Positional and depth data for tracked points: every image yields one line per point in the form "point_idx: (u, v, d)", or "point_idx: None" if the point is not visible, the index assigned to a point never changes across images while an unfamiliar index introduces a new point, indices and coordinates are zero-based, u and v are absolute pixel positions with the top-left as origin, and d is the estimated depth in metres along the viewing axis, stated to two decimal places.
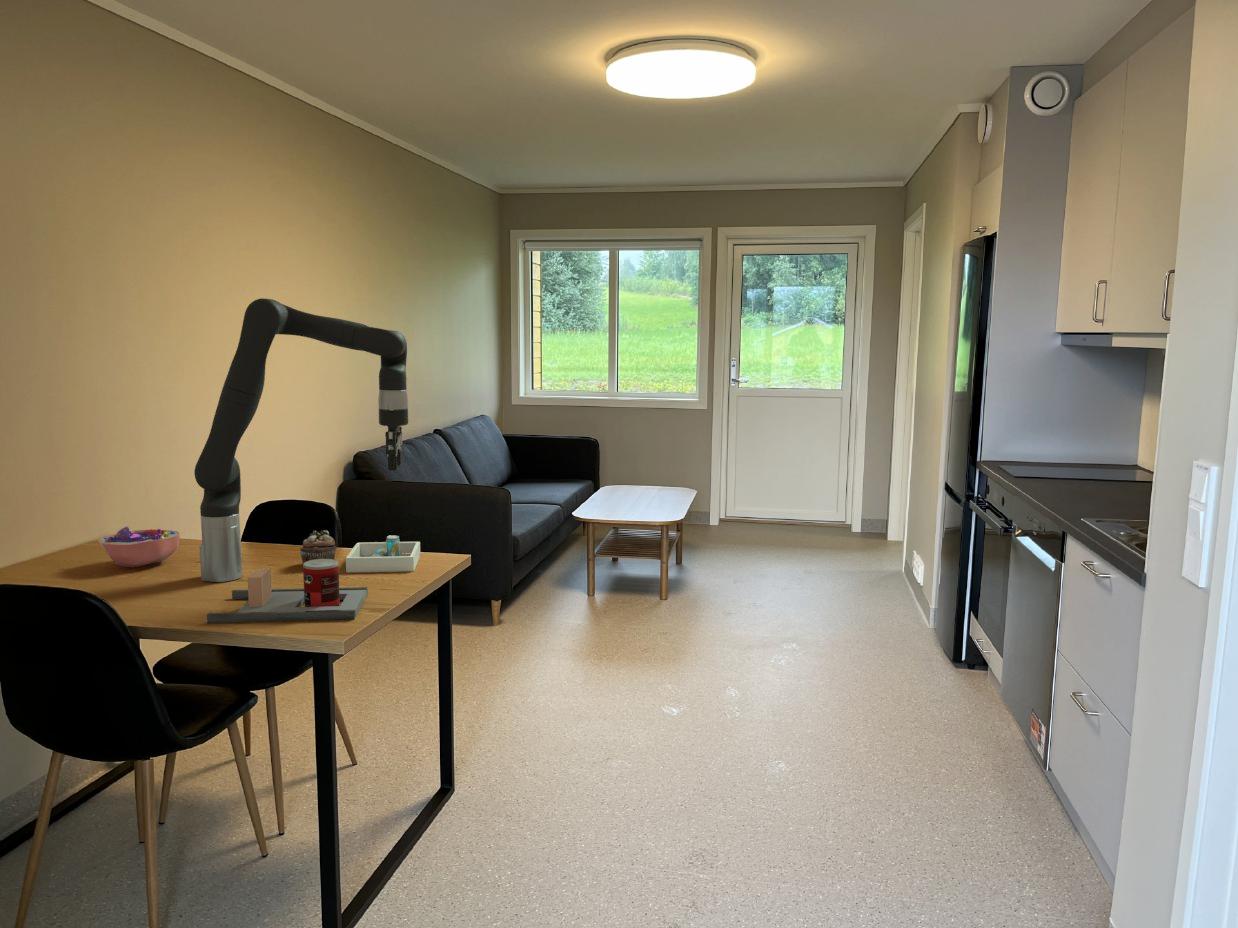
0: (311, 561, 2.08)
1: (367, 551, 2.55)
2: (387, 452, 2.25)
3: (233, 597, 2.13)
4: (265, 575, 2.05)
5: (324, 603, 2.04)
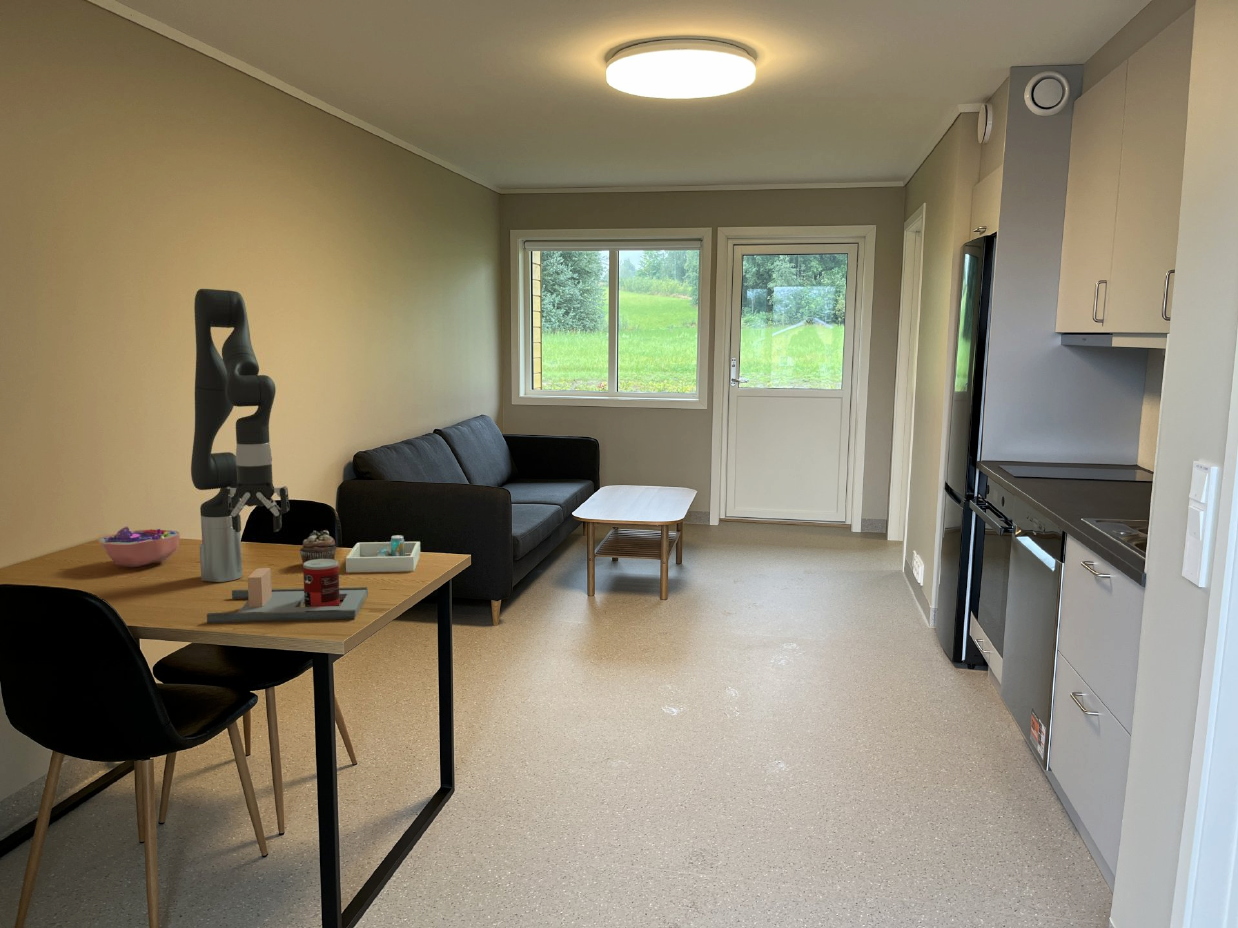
0: (311, 561, 2.08)
1: (367, 551, 2.55)
2: (287, 510, 2.03)
3: (233, 597, 2.13)
4: (265, 575, 2.05)
5: (324, 603, 2.04)
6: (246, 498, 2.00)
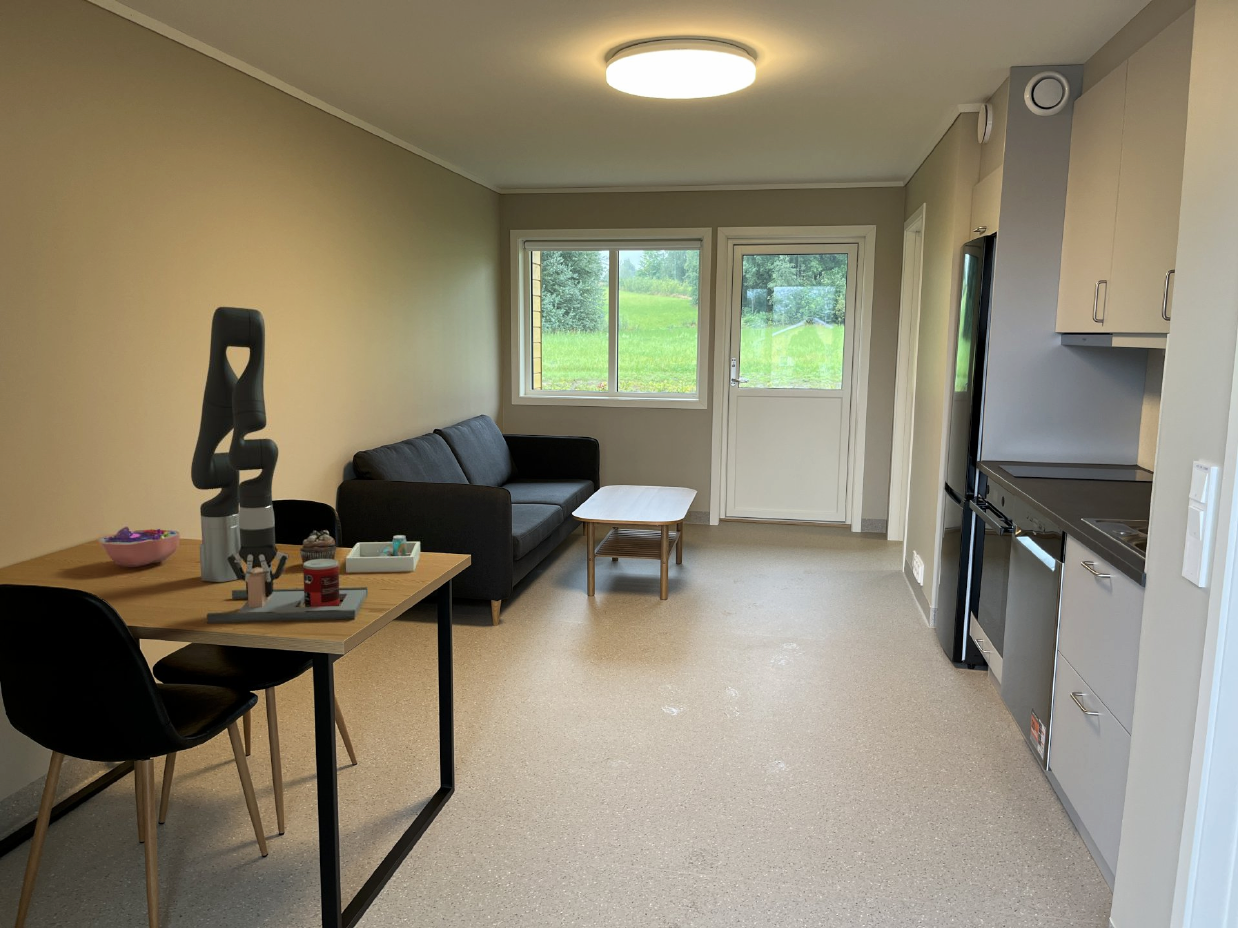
0: (311, 561, 2.08)
1: (367, 551, 2.55)
2: (278, 577, 2.05)
3: (233, 597, 2.13)
4: None
5: (324, 603, 2.04)
6: (251, 560, 2.02)
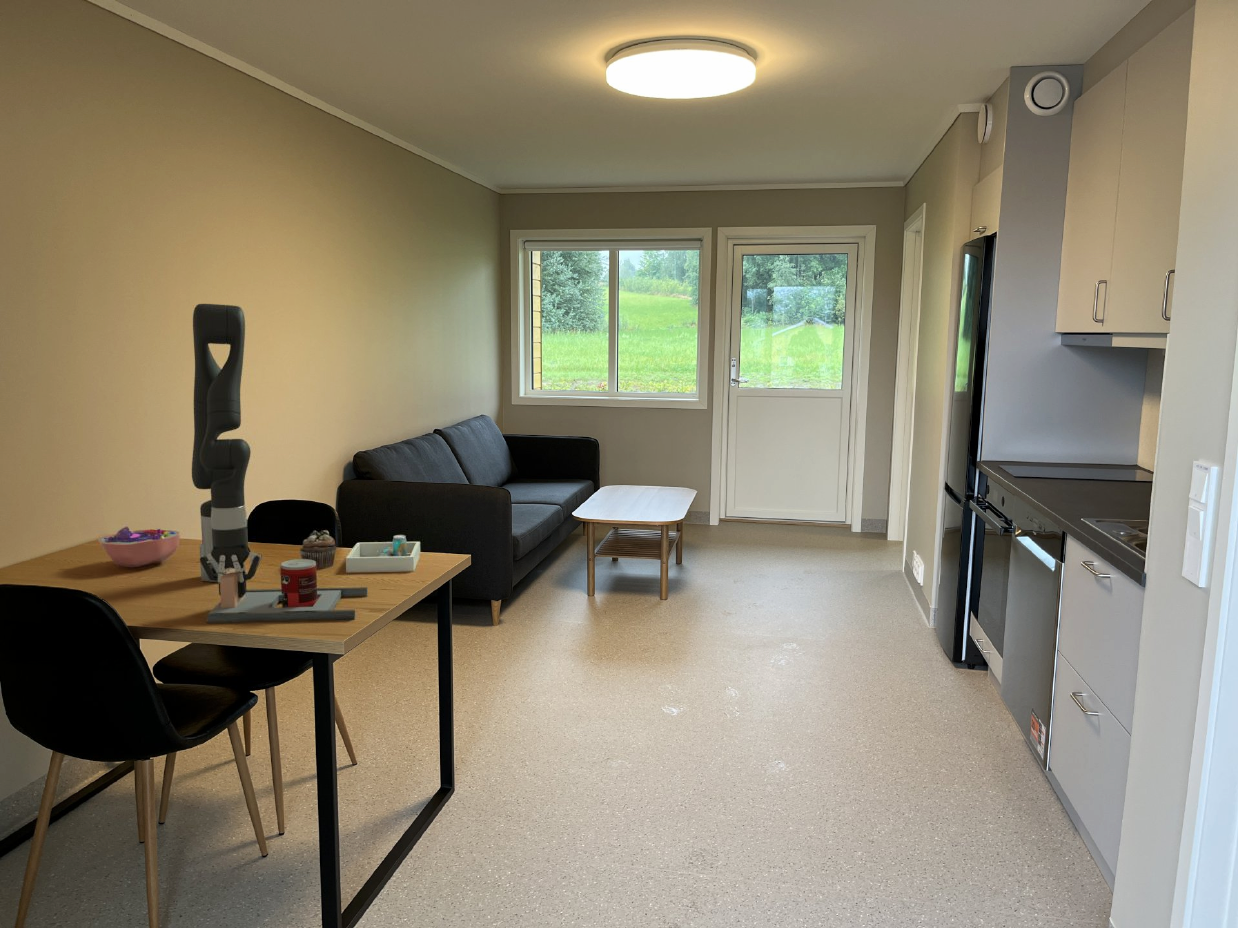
0: (289, 561, 2.07)
1: (367, 551, 2.55)
2: (251, 577, 2.04)
3: None
4: None
5: (301, 603, 2.04)
6: (223, 561, 2.02)
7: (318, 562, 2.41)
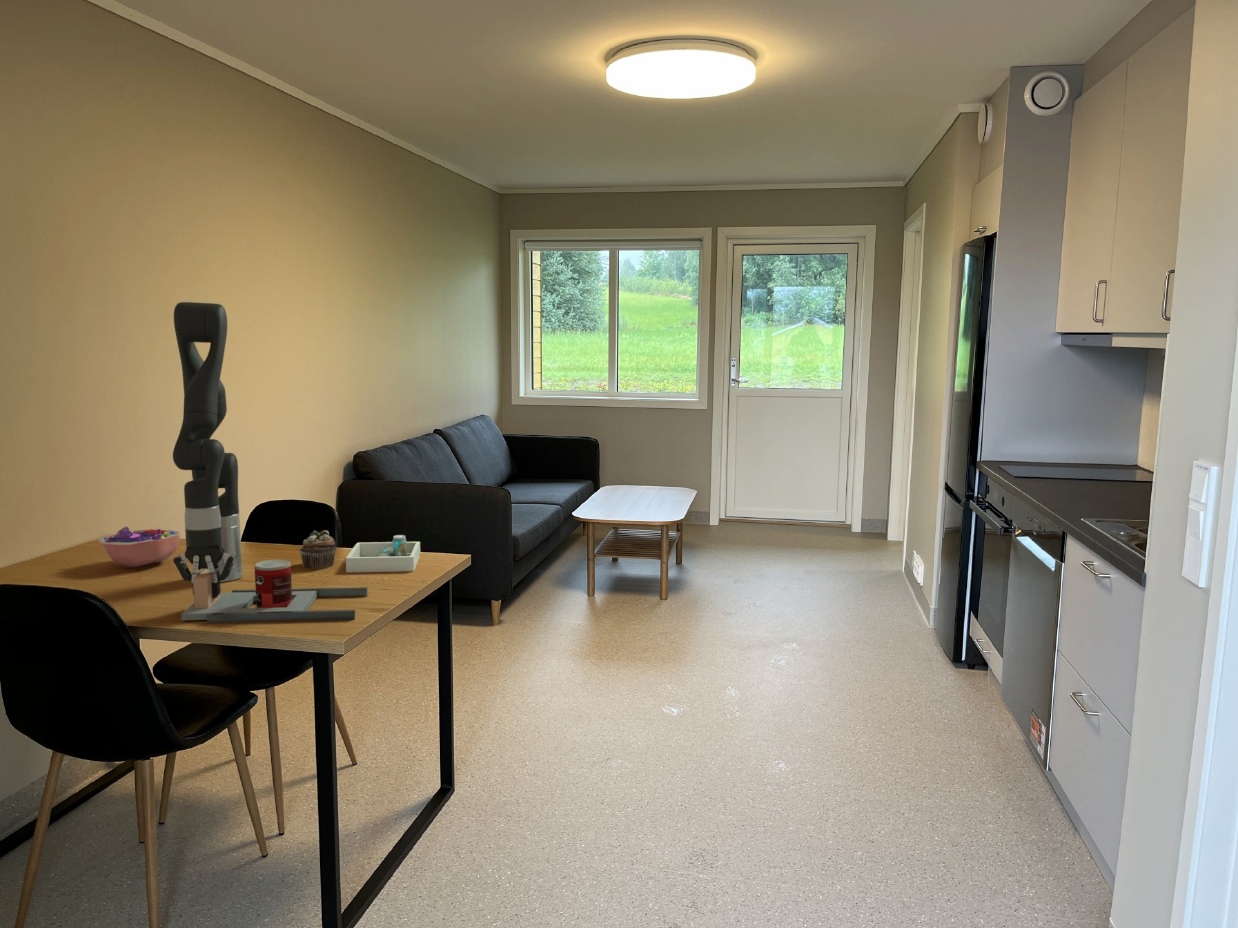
0: (263, 562, 2.07)
1: (367, 551, 2.55)
2: (225, 578, 2.03)
3: None
4: None
5: (275, 604, 2.03)
6: (197, 561, 2.01)
7: (318, 562, 2.41)
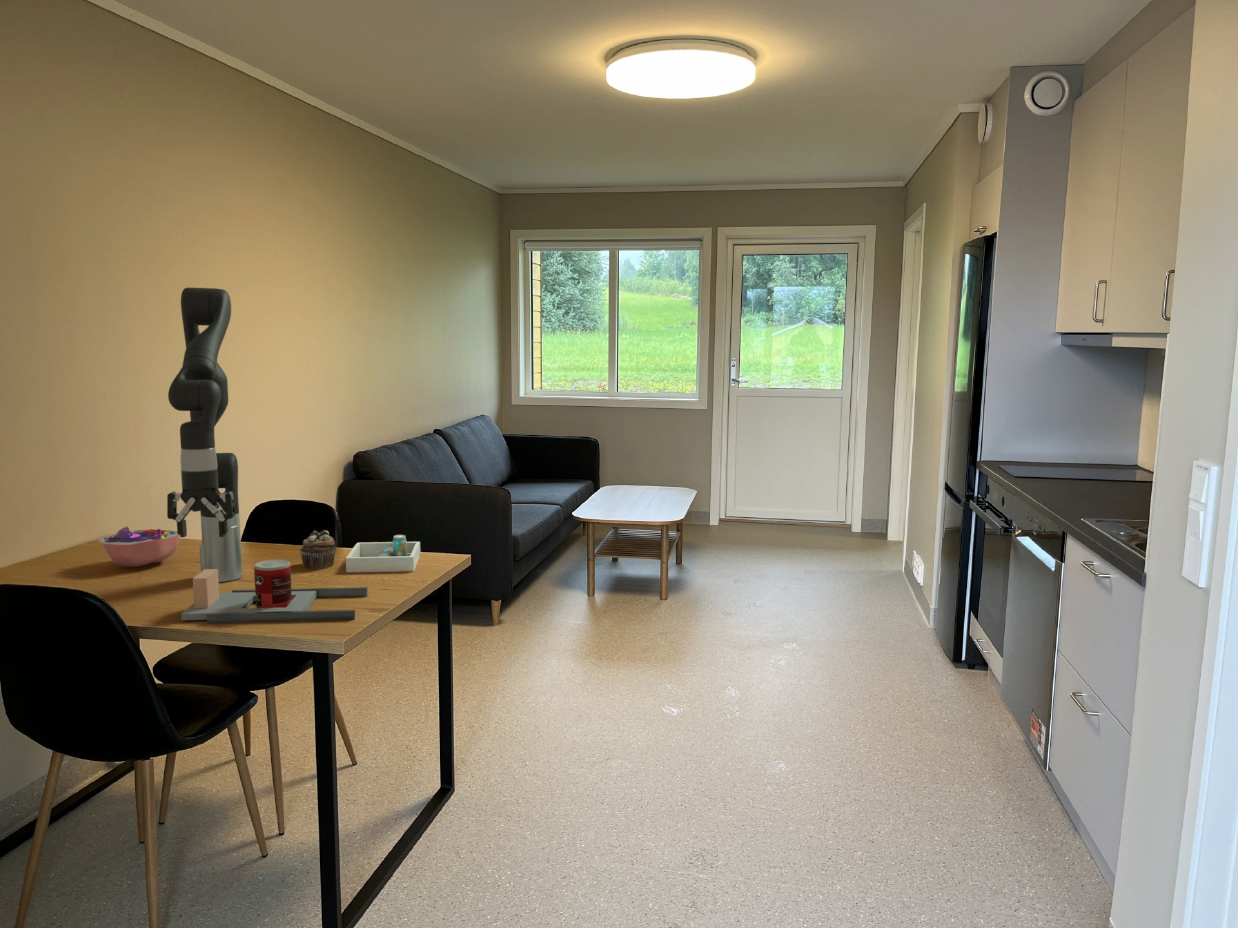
0: (263, 562, 2.07)
1: (367, 551, 2.55)
2: (232, 515, 2.02)
3: None
4: (211, 576, 2.03)
5: (275, 604, 2.03)
6: (191, 503, 1.99)
7: (318, 562, 2.41)
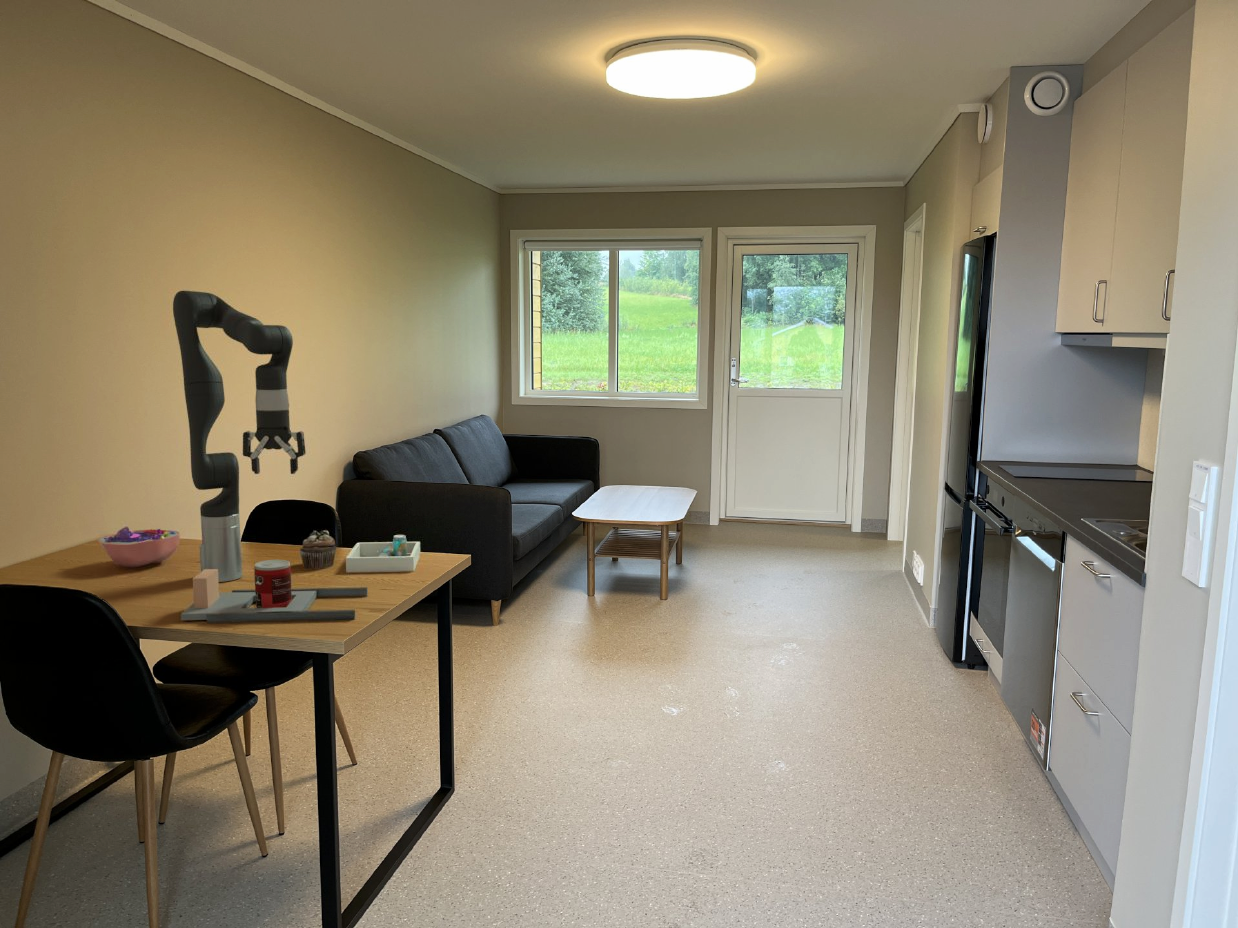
0: (263, 562, 2.07)
1: (367, 551, 2.55)
2: (303, 453, 2.15)
3: None
4: (211, 576, 2.03)
5: (275, 604, 2.03)
6: (265, 441, 2.12)
7: (318, 562, 2.41)
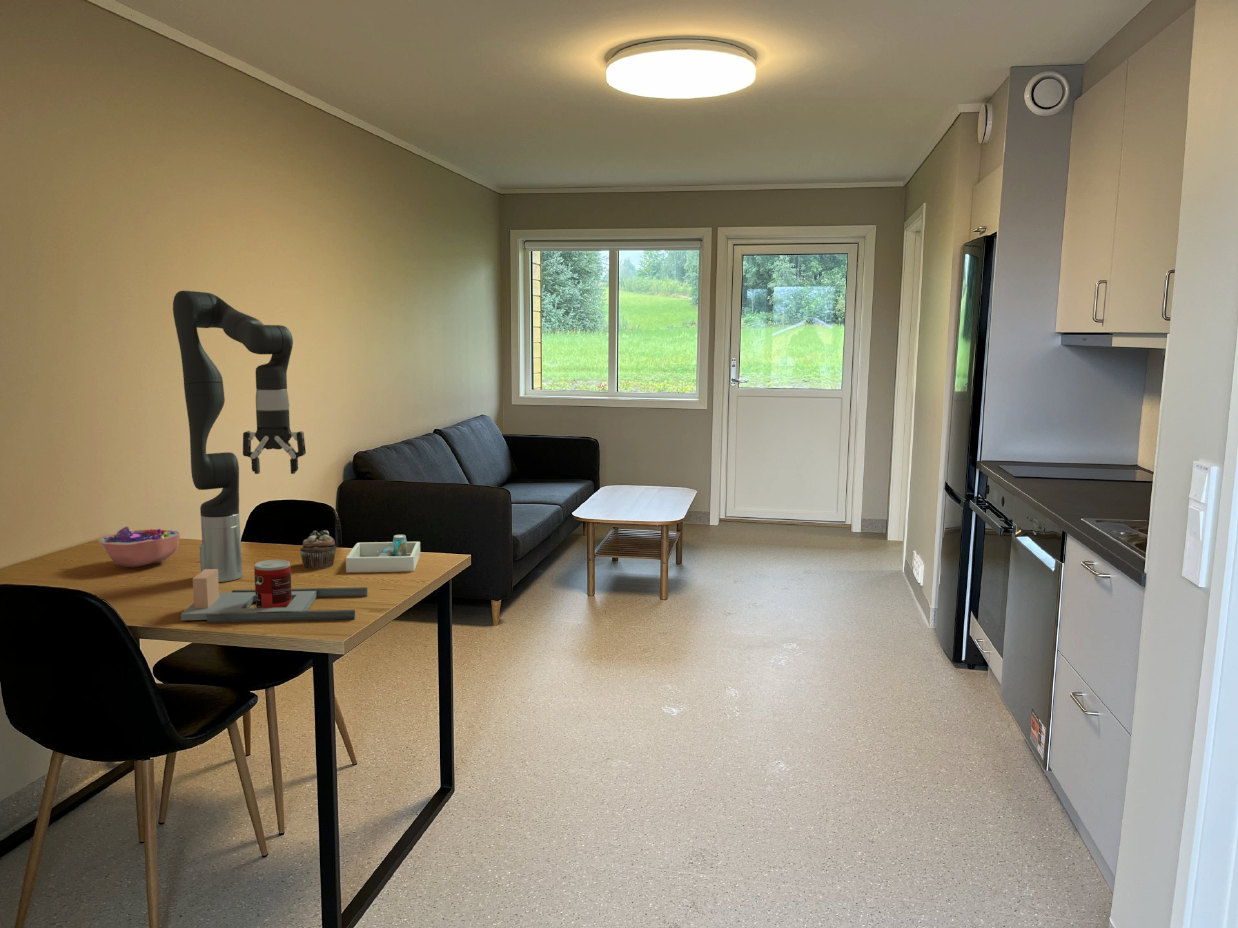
0: (263, 562, 2.07)
1: (367, 551, 2.55)
2: (303, 453, 2.15)
3: None
4: (211, 576, 2.03)
5: (275, 604, 2.03)
6: (265, 441, 2.12)
7: (318, 562, 2.41)
